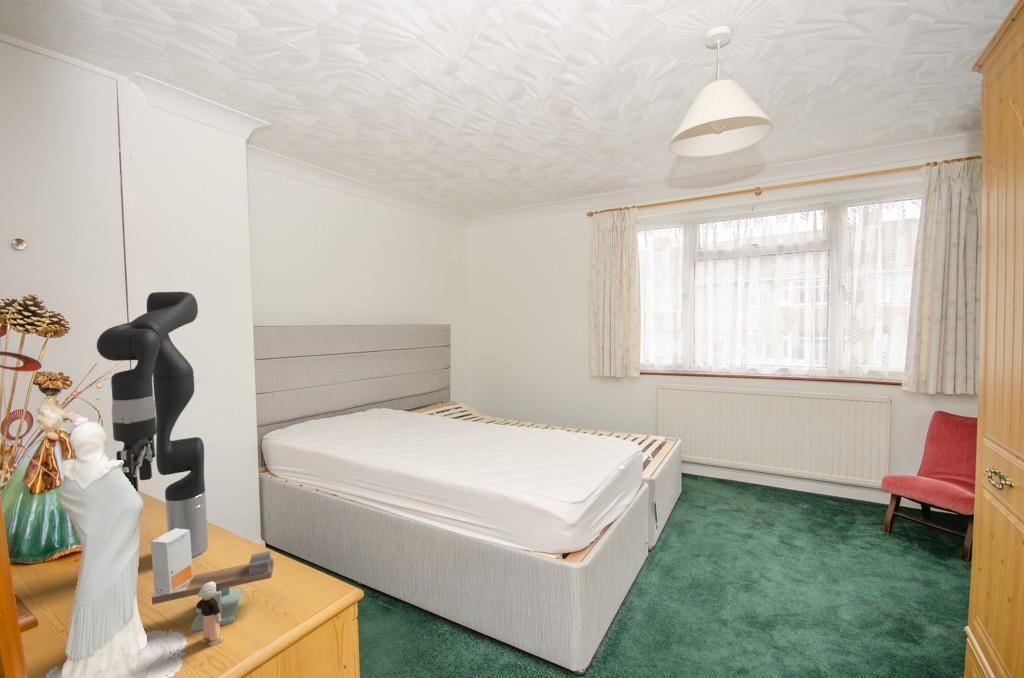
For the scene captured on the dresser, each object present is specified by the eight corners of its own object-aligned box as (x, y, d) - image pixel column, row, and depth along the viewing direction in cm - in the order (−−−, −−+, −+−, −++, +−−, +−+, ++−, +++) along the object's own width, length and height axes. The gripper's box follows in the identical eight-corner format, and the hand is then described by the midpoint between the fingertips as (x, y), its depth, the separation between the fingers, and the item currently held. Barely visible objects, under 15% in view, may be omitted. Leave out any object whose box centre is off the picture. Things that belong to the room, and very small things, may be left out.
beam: (162, 592, 104) (160, 570, 103) (274, 567, 112) (273, 547, 112) (150, 612, 97) (148, 589, 96) (271, 585, 105) (269, 563, 105)
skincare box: (170, 595, 98) (165, 543, 97) (154, 593, 99) (149, 541, 98) (194, 578, 104) (190, 529, 103) (179, 576, 105) (175, 527, 103)
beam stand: (205, 598, 109) (203, 571, 108) (242, 590, 112) (241, 564, 111) (191, 632, 98) (189, 601, 97) (233, 622, 101) (232, 593, 100)
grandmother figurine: (233, 635, 97) (230, 580, 96) (218, 649, 93) (215, 591, 92) (204, 629, 99) (201, 575, 98) (188, 642, 95) (184, 586, 94)
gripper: (126, 411, 106) (131, 477, 107) (98, 426, 93) (103, 502, 94) (165, 408, 109) (169, 473, 110) (143, 423, 96) (147, 496, 97)
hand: (138, 486), depth 102 cm, fingers open, 8 cm apart
